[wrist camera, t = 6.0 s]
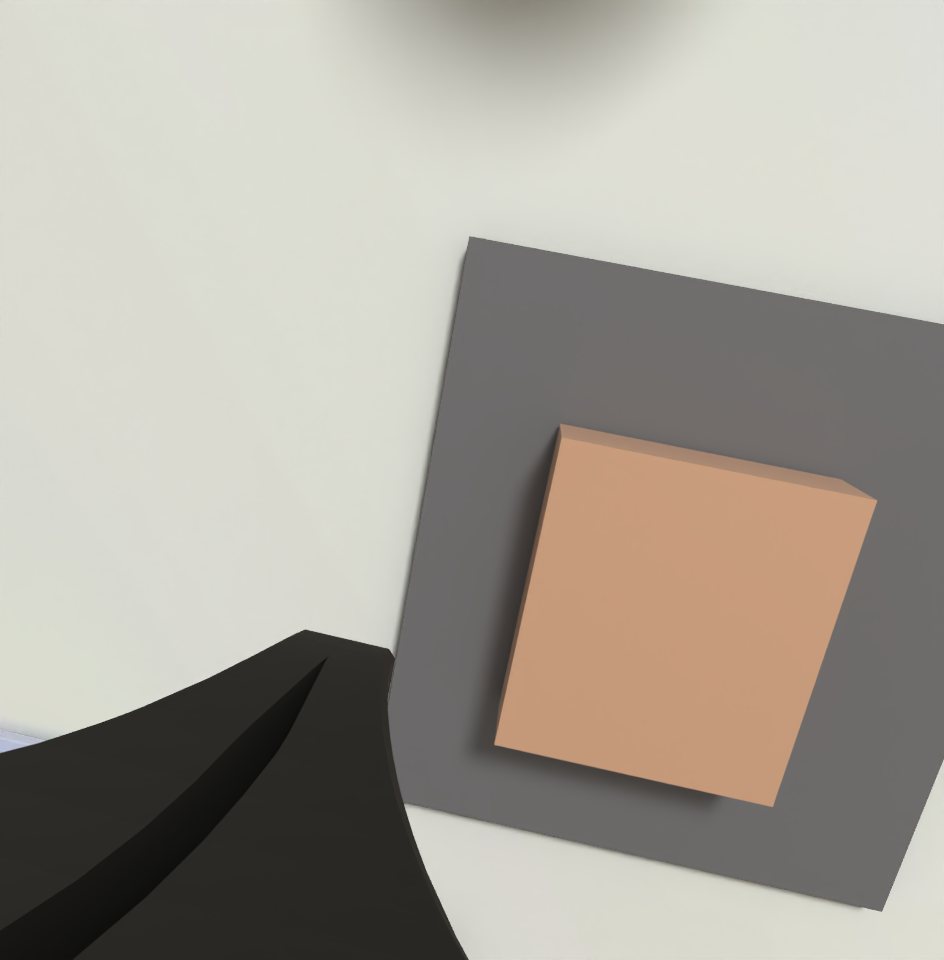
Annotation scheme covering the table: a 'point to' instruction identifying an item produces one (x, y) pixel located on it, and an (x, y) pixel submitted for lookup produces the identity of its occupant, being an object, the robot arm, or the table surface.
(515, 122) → the table surface
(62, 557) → the table surface
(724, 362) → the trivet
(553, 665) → the tile
